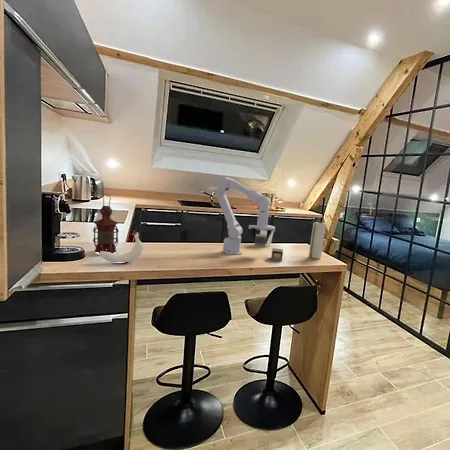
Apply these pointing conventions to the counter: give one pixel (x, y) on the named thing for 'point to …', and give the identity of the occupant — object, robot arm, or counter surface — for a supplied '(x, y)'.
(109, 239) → the lantern
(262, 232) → the foam cup
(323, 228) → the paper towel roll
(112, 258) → the banana
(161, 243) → the counter surface
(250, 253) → the counter surface
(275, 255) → the orange block
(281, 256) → the open grey box
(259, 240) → the grey hollow cube
